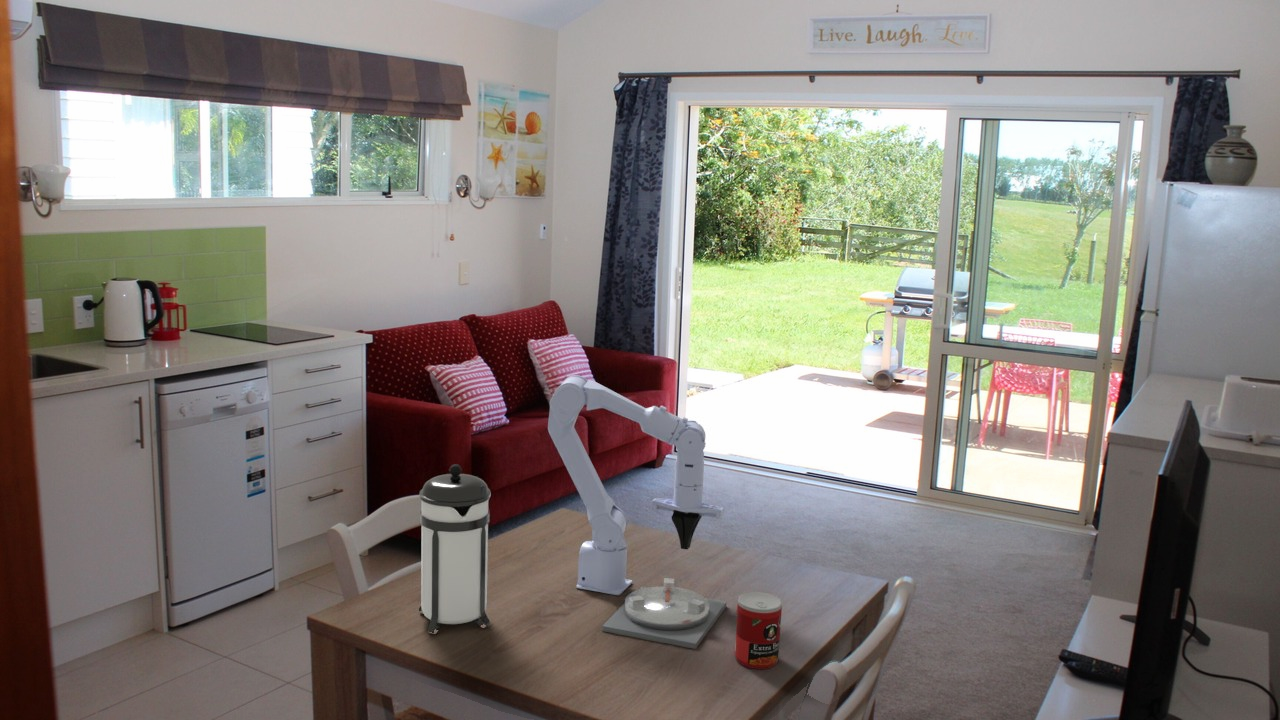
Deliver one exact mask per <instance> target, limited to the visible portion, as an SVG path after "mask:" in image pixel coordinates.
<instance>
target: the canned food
mask: <svg viewBox="0 0 1280 720" xmlns="http://www.w3.org/2000/svg"><path fill="white" fill-rule="evenodd" d="M736 604H737V605H736V608H737V609H736V622H735V623H736V624H735V641H734V642H735V643H734V657H735V659H736V661H737V662H738V663H739V664H741V665H742V666H744V667H745V668H749V669H754V670H765V669H770V668H773V667H774V666H776V665H777V663H778V660H779V658H780V657H779V656H780V639H781V627H782V626H781V625H782V614H783V613H782V611H783V609H782V608H783V604H782V600H781V599H780V598H779V597H777V596H776V595H773V594H771V593H767V592H764V591H763V592H762V591H749V592H745V593H742V594H741V595H739V596H738V598H737V603H736Z"/></svg>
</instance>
